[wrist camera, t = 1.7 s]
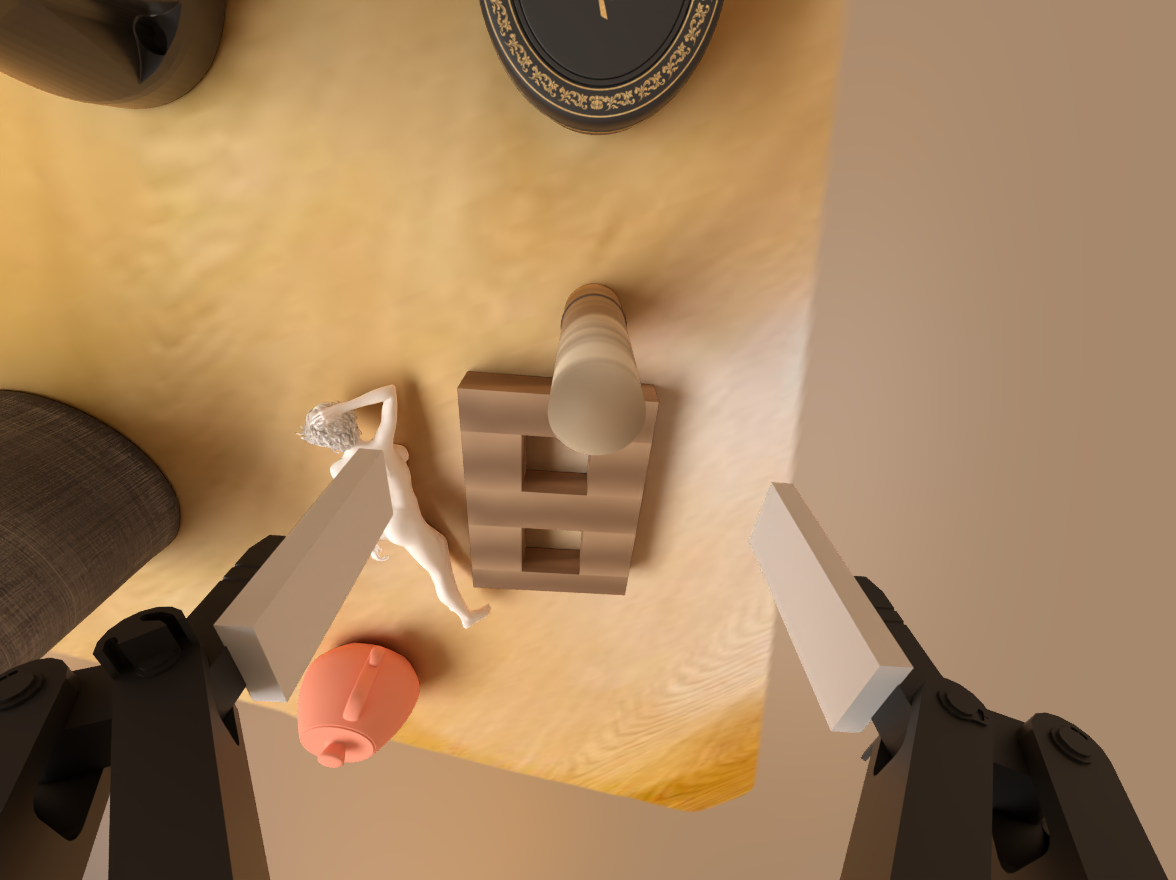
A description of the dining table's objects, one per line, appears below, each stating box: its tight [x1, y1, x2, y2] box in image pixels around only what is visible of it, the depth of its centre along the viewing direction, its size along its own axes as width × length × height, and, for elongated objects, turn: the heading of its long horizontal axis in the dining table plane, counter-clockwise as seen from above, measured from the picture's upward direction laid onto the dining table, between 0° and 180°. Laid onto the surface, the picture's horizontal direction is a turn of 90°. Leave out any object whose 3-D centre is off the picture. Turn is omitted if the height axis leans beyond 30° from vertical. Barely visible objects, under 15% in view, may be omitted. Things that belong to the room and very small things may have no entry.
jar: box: [479, 0, 724, 135], centre depth 20 cm, size 10×10×8 cm
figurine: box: [295, 385, 491, 628], centre depth 38 cm, size 8×6×25 cm
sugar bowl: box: [297, 642, 420, 767], centre depth 47 cm, size 12×14×10 cm
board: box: [457, 372, 659, 595], centre depth 37 cm, size 20×14×3 cm
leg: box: [548, 284, 646, 455], centre depth 24 cm, size 4×4×15 cm
